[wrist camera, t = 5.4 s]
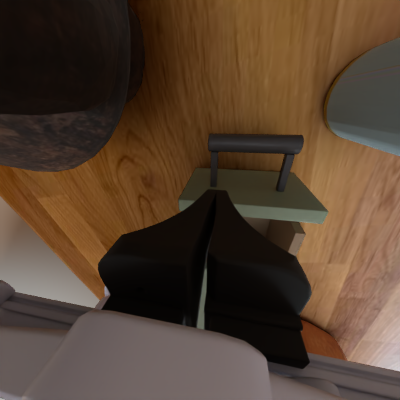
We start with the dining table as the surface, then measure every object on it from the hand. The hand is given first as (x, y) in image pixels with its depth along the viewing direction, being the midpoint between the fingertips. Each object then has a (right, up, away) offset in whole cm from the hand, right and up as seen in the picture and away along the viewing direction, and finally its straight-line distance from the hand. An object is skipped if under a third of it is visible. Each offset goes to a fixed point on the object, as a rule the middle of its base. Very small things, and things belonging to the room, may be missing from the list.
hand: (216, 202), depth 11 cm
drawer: (+4, 0, +10) cm, 11 cm away
